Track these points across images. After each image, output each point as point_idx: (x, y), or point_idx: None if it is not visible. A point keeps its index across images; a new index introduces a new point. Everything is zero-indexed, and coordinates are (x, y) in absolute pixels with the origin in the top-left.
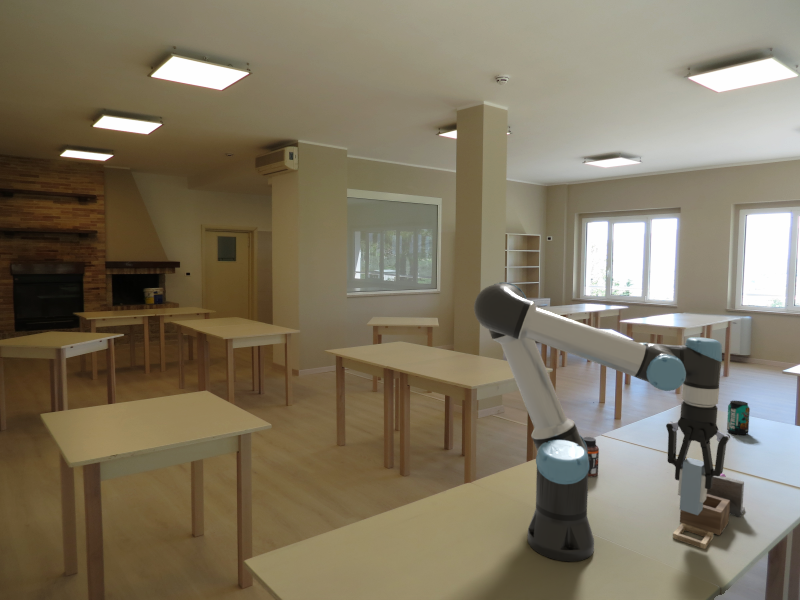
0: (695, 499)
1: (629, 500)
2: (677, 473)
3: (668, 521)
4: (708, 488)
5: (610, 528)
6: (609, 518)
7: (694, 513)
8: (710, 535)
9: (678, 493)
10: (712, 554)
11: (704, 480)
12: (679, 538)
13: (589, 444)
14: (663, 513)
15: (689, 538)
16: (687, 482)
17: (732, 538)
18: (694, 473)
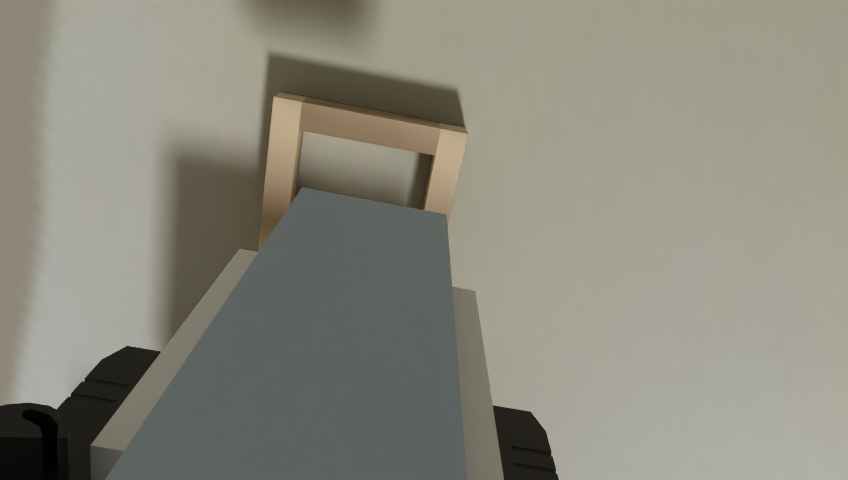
0: (303, 243)
1: (716, 452)
2: (527, 476)
3: (502, 323)
4: (134, 353)
5: (844, 31)
6: (842, 170)
7: (327, 195)
8: (264, 234)
9: (472, 296)
10: (234, 50)
11: (132, 395)
12: (427, 122)
13: None
14: (533, 400)
15: (368, 119)
16: (381, 344)
17: (173, 312)
18: (258, 445)
